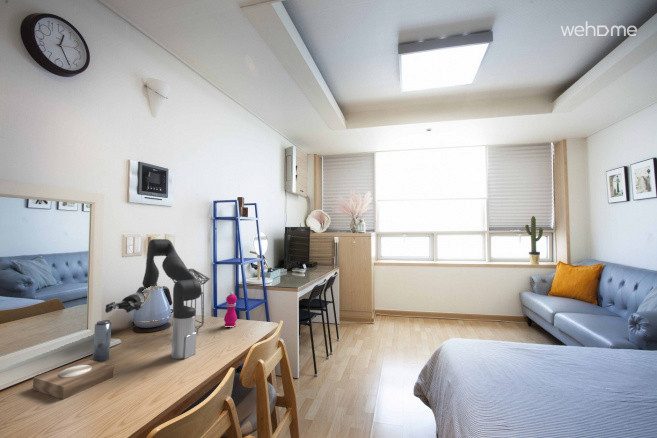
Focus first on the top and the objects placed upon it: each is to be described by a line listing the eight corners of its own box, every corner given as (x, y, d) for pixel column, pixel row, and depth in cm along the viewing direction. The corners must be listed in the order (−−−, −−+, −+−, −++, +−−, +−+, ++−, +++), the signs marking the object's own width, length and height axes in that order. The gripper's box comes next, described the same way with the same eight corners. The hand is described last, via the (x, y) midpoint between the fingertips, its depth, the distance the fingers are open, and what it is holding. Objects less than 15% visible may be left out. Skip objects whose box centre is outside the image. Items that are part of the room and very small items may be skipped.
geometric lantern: (193, 326, 168) (196, 266, 169) (208, 333, 158) (212, 268, 160) (165, 334, 155) (169, 268, 156) (180, 341, 146) (184, 271, 147)
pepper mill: (224, 329, 166) (226, 293, 166) (222, 325, 172) (224, 291, 173) (237, 327, 169) (239, 292, 170) (235, 323, 175) (237, 290, 176)
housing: (112, 357, 125) (114, 320, 126) (98, 363, 120) (100, 324, 121) (103, 355, 127) (105, 319, 128) (89, 360, 122) (91, 322, 123)
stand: (113, 376, 110) (113, 365, 110) (63, 399, 95) (64, 386, 95) (84, 368, 115) (85, 357, 115) (32, 389, 100) (33, 376, 100)
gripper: (118, 294, 150) (100, 302, 134) (148, 294, 153) (134, 302, 137) (117, 308, 150) (99, 318, 134) (147, 308, 153) (133, 318, 137)
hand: (117, 310), depth 135 cm, fingers open, 8 cm apart
